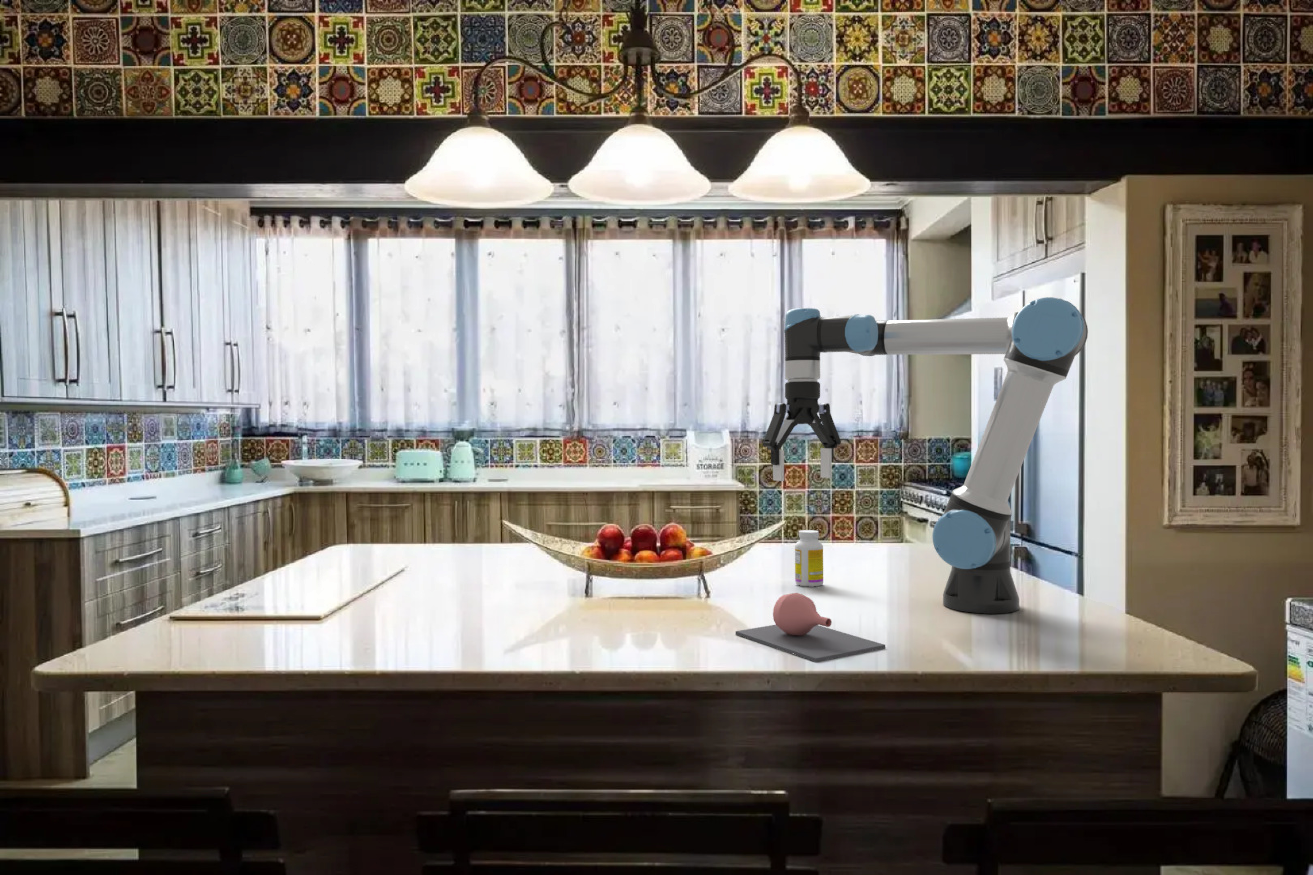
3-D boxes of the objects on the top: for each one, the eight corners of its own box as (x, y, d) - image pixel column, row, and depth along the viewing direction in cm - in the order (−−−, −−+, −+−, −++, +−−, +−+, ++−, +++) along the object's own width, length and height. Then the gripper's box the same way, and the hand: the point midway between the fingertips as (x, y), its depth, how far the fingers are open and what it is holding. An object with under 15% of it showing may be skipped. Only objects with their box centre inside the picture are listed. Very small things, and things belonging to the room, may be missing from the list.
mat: (801, 623, 174) (801, 620, 174) (885, 648, 155) (885, 644, 155) (735, 634, 166) (735, 631, 166) (815, 662, 147) (815, 658, 147)
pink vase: (779, 639, 165) (826, 654, 156) (759, 612, 163) (806, 624, 153) (802, 609, 169) (850, 620, 159) (783, 581, 166) (830, 591, 156)
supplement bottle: (827, 583, 215) (827, 530, 214) (817, 588, 209) (816, 533, 209) (801, 581, 218) (801, 528, 218) (790, 585, 213) (790, 531, 212)
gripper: (833, 382, 203) (833, 475, 203) (745, 380, 189) (746, 480, 190) (856, 381, 196) (857, 477, 197) (768, 379, 183) (768, 482, 184)
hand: (802, 479), depth 193 cm, fingers open, 13 cm apart
